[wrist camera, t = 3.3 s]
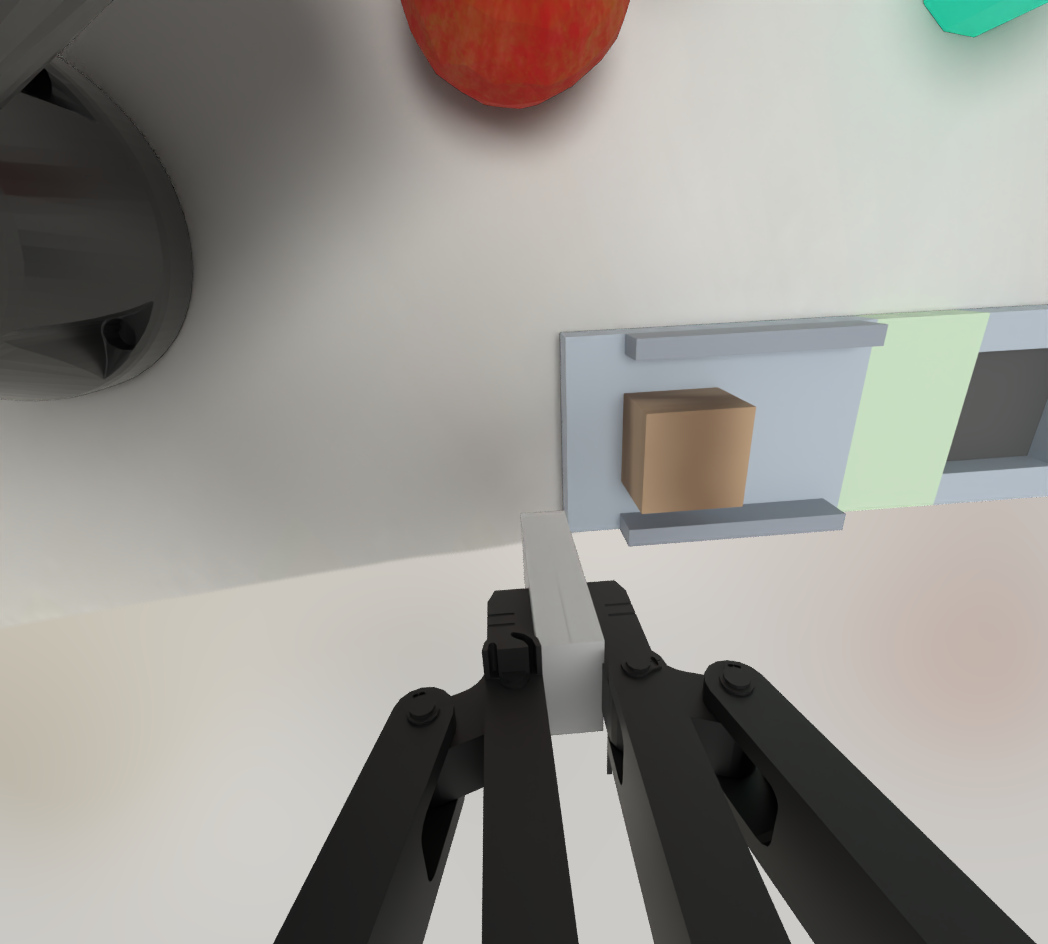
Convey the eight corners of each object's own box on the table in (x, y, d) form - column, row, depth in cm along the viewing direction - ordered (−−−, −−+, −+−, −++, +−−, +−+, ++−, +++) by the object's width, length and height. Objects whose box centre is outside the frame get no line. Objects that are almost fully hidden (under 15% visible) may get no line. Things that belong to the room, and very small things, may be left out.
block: (621, 481, 28) (641, 513, 24) (623, 393, 26) (646, 414, 22) (708, 475, 28) (742, 506, 24) (717, 387, 26) (755, 406, 22)
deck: (563, 516, 30) (574, 550, 27) (559, 332, 26) (571, 342, 23) (1026, 482, 32) (1097, 509, 28) (1093, 301, 28) (1187, 306, 24)
